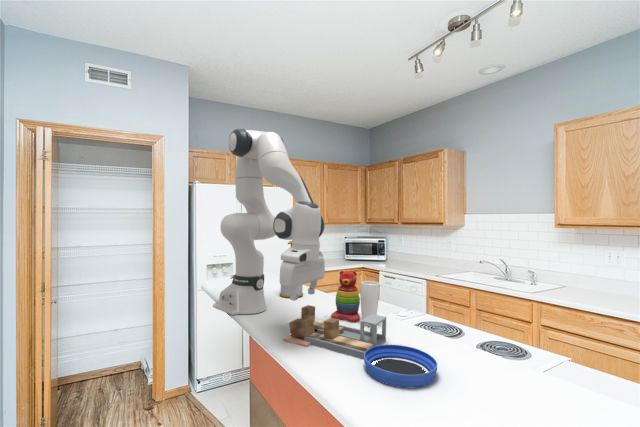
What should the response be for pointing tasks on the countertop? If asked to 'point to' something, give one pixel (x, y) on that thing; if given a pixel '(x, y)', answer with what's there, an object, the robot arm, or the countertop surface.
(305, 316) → the strip far
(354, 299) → the stacking bear
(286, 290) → the soap bottle
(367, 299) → the drinking glass
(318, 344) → the lane board
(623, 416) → the countertop surface
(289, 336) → the coaster
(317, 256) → the robot arm
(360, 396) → the countertop surface
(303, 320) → the walnut block
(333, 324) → the strip near
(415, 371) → the blue round shallow tray
